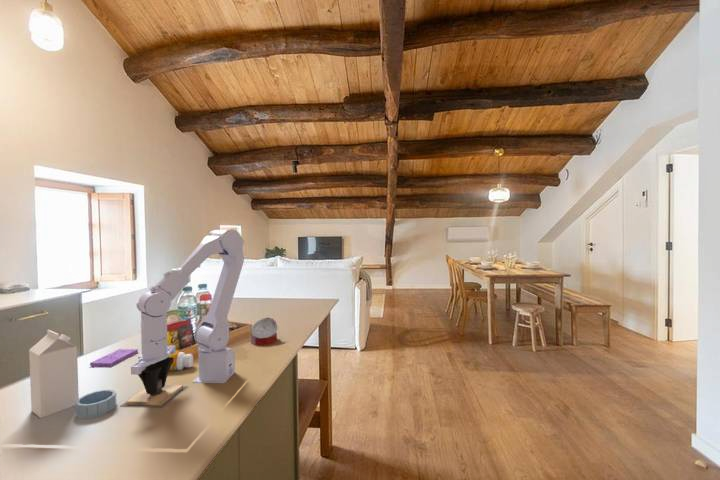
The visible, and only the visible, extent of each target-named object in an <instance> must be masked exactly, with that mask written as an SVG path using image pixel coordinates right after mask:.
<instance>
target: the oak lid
mask: <svg viewBox="0 0 720 480" xmlns="http://www.w3.org/2000/svg"><path fill="white" fill-rule="evenodd" d="M183 386H184V385H183V384H181V385H180V384H165V386H164V387H163V388H162V379H161V378H158V381H157V391H156V393H155V394H147V392H146V390H145V388H144V389H142V390H141V391H139V392H138V393H136V394H135V395H133V396H132V397H130V398H129V399H128V400H126V405H163V404H164V403H165V402H166V401H167V400H169V399H170V398H171V397H172V396H174V395H175V394H176V393H177V392H179V391H180V390H181V389H182V388H183Z"/></svg>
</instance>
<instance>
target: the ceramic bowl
mask: <svg viewBox="0 0 720 480" xmlns="http://www.w3.org/2000/svg"><path fill="white" fill-rule="evenodd" d="M116 406H117V391H116V390H113V389H101V390H96V391H93V392H89V393H87V394H85V395H82V396H81V397H79V399H77V401H76V402H75V417H77V418H78V419H91V418H96V417H99V416H103V415H105V414H107V413H110V412H111V411H112V410H114V409H115V408H116Z"/></svg>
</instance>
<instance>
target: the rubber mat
mask: <svg viewBox="0 0 720 480" xmlns="http://www.w3.org/2000/svg"><path fill="white" fill-rule="evenodd" d="M188 388H189V386H187V385H186V386H184V385H183V388H182V389H181V390H180V391H179V392H177V393H176V394H175V395H174V396H172V397H171V398H170V399H169V400H167V401H166V402H165V403H164V404H163V405H126V402H124V403H122V404H121V405H120V406H119V408H151V409H152V408H153V409H154V408H156V409H164V407H166V406H167V405H168V404H169V403H170V402H172V401H173V400H174V399H176V398H177V397H178V396H179V395H180V394H181V393H183V392H184V391H185V390H186V389H188Z"/></svg>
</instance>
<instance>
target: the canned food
mask: <svg viewBox="0 0 720 480" xmlns="http://www.w3.org/2000/svg"><path fill="white" fill-rule="evenodd" d="M250 329H251V332H250V333H251V334H250V344H252V345H254V346H267V345H268V346H269V345H272V344H274V343H276V342H277V341H278V338H277V336H278V333H277V331H278V325H277V322H276V320H275V319H274V318H271V317H265V318H261V319H259V320H258V321H256V322H255V323H254V324H253V325H252V327H251V328H250Z"/></svg>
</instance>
